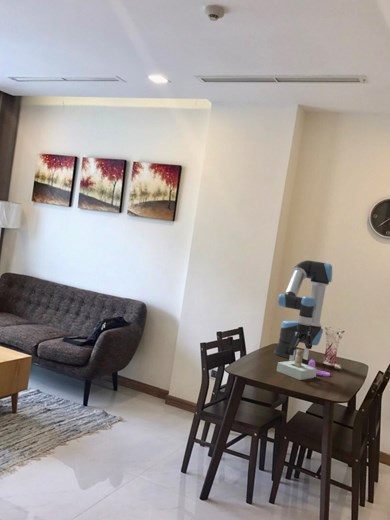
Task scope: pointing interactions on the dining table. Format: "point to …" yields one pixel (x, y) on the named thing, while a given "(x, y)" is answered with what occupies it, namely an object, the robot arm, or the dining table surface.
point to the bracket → (311, 363)
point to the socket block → (296, 370)
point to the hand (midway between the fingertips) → (298, 360)
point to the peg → (298, 358)
